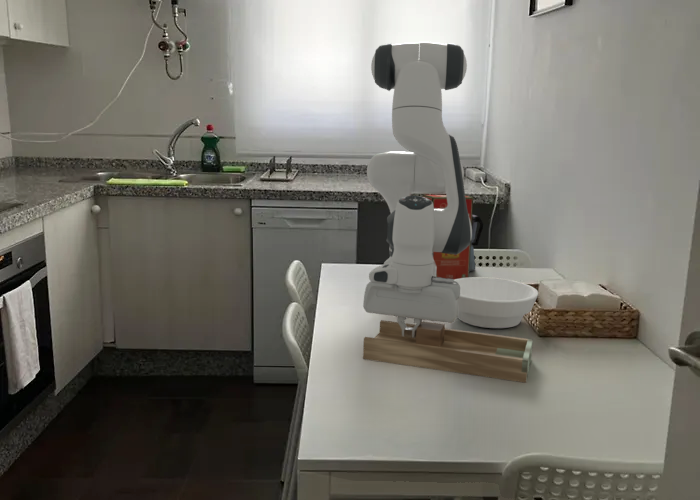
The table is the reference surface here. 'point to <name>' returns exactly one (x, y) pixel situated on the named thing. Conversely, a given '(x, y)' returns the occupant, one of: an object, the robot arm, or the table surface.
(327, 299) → the table surface
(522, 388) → the table surface
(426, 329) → the walnut block
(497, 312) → the bowl
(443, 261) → the food packaging
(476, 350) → the trap lane
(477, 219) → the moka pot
